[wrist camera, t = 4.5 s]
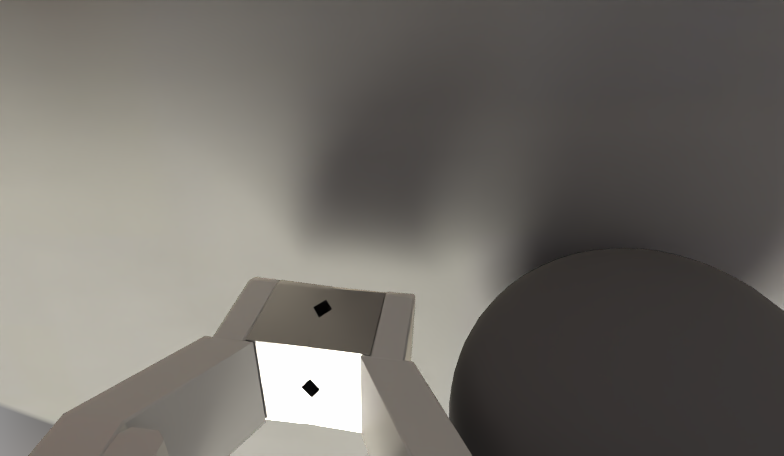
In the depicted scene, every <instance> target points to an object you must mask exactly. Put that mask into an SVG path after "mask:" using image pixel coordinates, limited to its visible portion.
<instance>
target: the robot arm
mask: <svg viewBox="0 0 784 456" xmlns="http://www.w3.org/2000/svg"><path fill="white" fill-rule="evenodd" d="M414 314H415V295H414V294H407V293H396V292H377V291H368V290H358V289H348V288H339V287H332V286H324V285H317V284H309V283H302V282H294V281H287V280H276V279H268V278H260V277H254V278H252V279H251V280H249V281H248V283H247V284H246V286H245V287H244V289H243V291H242V292H241V294H240V295H239V297H238V298H237V300H236V302H235V303H234V305H233V306H232V308H231V309H230V311H229V312H228V314H227V316H226V317H225V319H224V320H223V322H222V323H221V325H220V326H219V328H218V330H217V331H216V333H215V334H214V336H213V337H209V336H204V337H202V338H200V339H198V340H197V341H195V342H193V343H191V344H189V345H188V346H186V347H184V348H182V349H180V350H178V351H177V352H175V353H173V354H171V355H169V356H168V357H166V358H164V359H162V360H160V361H159V362H157V363H155V364H153V365H151V366H149V367H148V368H146V369H144V370H142V371H140V372H139V373H137V374H135V375H133V376H131V377H129V378H128V379H126V380H124V381H122V382H120V383H119V384H117V385H115V386H113V387H111V388H110V389H108V390H106V391H104V392H102V393H100V394H99V395H97V396H95V397H93V398H91V399H90V400H88V401H86V402H84V403H82V404H81V405H79V406H77V407H75V408H73V409H71V410H70V411H68V412H66V413H64V414H63V415H62V416H61V417H60V419H59V420H58V421H57V422H56V423H55V425H54V426H53V427H52V428H51V430H50V431H49V432H48V433H47V434H46V435H45V436H44V438H43V439H42V440H41V441H40V442H39V443H38V445H37V446H36V447H35V448H34V449H33V451H32V452H31V453H30V454H29V455H28V456H229V455H230V454H231V453H232V452H234V451H235V450H236V449H237V448H238V447H239V446H240V445H241V444H242V443H243V442H245V441H246V440H247V439H248V438H249V437H250V436H251V435H252V434H253V433H255V432H256V431H257V430H258V429H259V428H260V427H261V426H262V425H263V424H264V423H266V420H265V419H268V420H277V421H286V422H295V423H304V424H313V425H319V426H325V427H331V428H337V429H343V430H349V431H355V432H361V435H362V438H363V441H364V443H365V446H366V449H367V452H368V454H369V456H472V454H471V453H470V451H469V450H468V448H467V446H466V445H465V443H464V442H463V440H462V438H461V437H460V435H459V434H458V432H457V430H456V429H455V427H454V426H453V424H452V423H451V421H450V419H449V418H448V416H447V415H446V413H445V411H444V410H443V408H442V407H441V405H440V403H439V402H438V400H437V399H436V397H435V395H434V394H433V392H432V391H431V389H430V387H429V386H428V384H427V383H426V381H425V379H424V378H423V376H422V375H421V373H420V371H419V370H418V368H417V367H416V365H415V364H414V362H411V354H412V342H413V328H414Z"/></svg>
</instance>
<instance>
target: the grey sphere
mask: <svg viewBox="0 0 784 456" xmlns="http://www.w3.org/2000/svg"><path fill="white" fill-rule="evenodd" d="M449 419H450V421H451V423H452V424H453V426H454V427H455V429H456V430H457V432H458V434H459V435H460V437H461V438H462V440H463V442H464V443H465V445H466V446H467V448H468V450H469V451H470V453H471V454H472V456H784V311H783V310H782V309H780V308H779V307H778V306H776V305H775V304H774V303H772V302H771V301H770V300H768V299H767V298H766V297H764V296H763V295H762V294H760V293H759V292H758V291H756V290H755V289H754V288H752V287H751V286H749V285H747V284H745V283H743V282H742V281H740V280H738V279H736V278H734V277H733V276H731V275H729V274H727V273H725V272H723V271H721V270H719V269H717V268H714V267H712V266H709V265H707V264H704V263H701V262H699V261H696V260H693V259H689V258H685V257H682V256H678V255H674V254H670V253H666V252H662V251H654V250H647V249H631V248H615V249H601V250H592V251H587V252H581V253H576V254H573V255H569V256H566V257H562V258H559V259H557V260H554V261H552V262H549V263H547V264H545V265H542V266H540V267H539V268H537V269H535V270H533V271H531V272H529V273H527V274H526V275H524V276H522V277H521V278H519V279H518V280H517V281H515V282H514V283H512V284H511V285H510V286H508V287H507V288H506V289H505V290H504V291H503V292H502V293H501V294H500V295H499V296H497V297H496V299H495V300H494V301H493V302H492V303H491V304H490V305H489V306H488V308H487V309H486V310H485V311H484V312H483V314H482V315H481V316H480V317H479V319H478V320H477V322H476V324H475V325H474V327H473V329H472V330H471V332H470V334H469V336H468V338H467V339H466V341H465V343H464V346H463V348H462V351H461V353H460V356H459V359H458V362H457V365H456V368H455V372H454V377H453V382H452V387H451V395H450V402H449Z"/></svg>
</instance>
